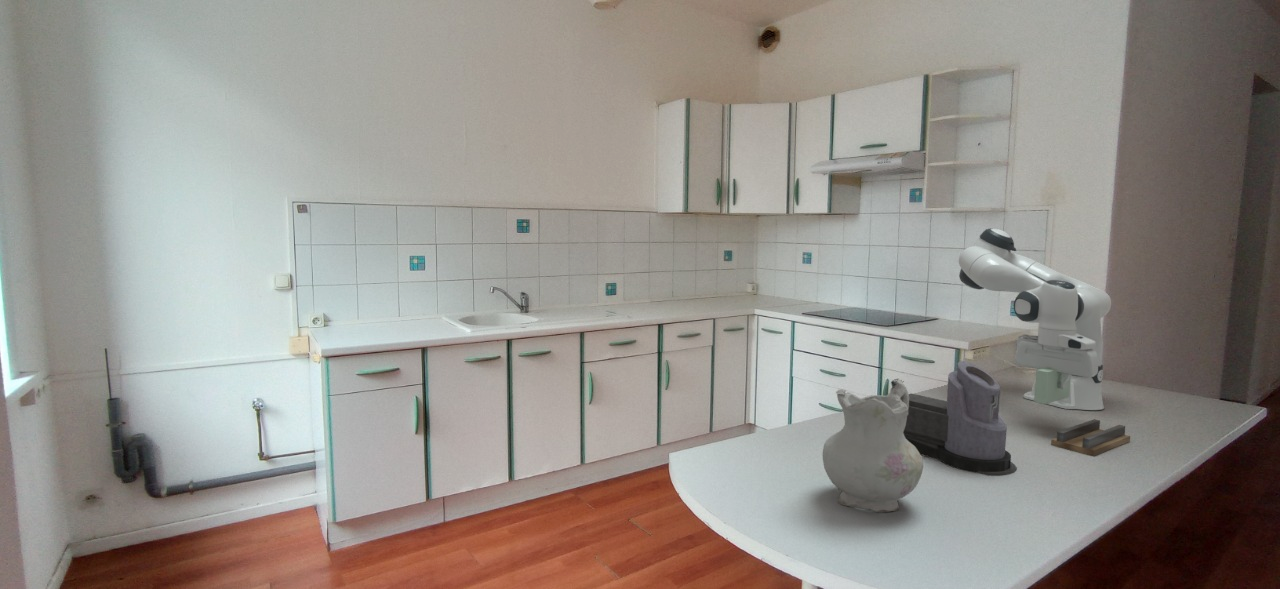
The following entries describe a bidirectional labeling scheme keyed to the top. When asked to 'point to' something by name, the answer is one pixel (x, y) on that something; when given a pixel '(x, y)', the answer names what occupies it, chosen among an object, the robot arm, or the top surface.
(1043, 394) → the door panel
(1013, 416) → the top surface
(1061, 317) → the robot arm
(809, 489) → the top surface
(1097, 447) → the bottom track
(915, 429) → the juicer
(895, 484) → the ceramic pitcher
